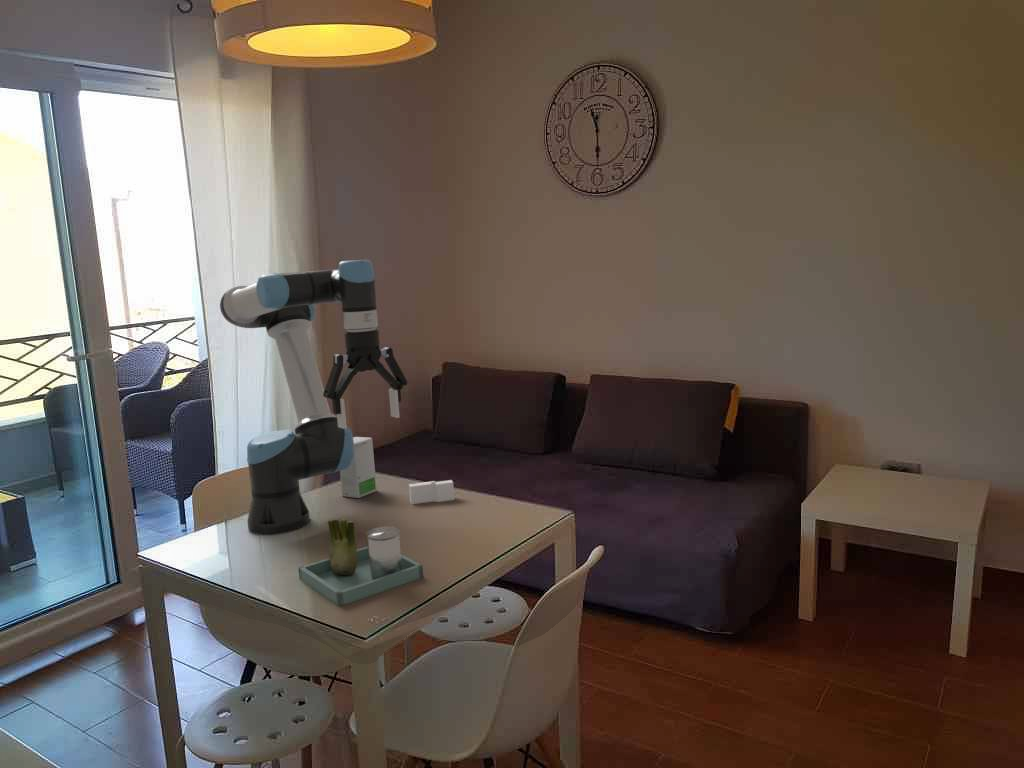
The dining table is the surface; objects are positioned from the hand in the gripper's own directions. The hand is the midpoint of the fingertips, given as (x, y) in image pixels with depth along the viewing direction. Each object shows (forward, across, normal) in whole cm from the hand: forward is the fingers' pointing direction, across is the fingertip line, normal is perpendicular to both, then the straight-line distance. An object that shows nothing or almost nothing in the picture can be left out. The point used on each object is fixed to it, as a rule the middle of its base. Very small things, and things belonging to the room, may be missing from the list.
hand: (369, 422), depth 187 cm
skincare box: (+29, +15, +38) cm, 50 cm away
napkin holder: (+29, +26, +16) cm, 42 cm away
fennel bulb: (+28, -16, -13) cm, 35 cm away
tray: (+29, -14, -18) cm, 37 cm away
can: (+28, -11, -22) cm, 37 cm away
